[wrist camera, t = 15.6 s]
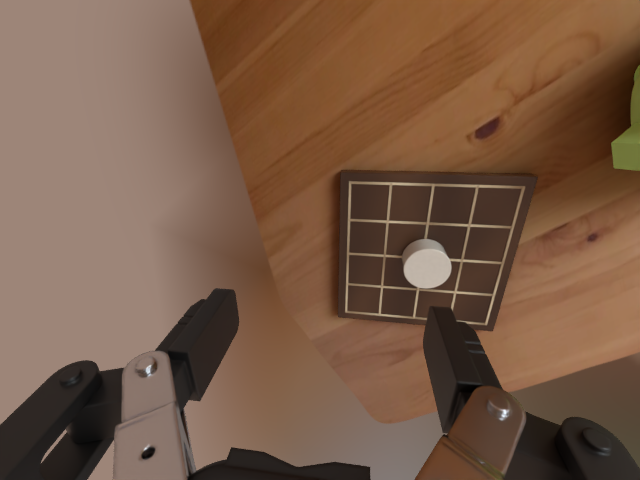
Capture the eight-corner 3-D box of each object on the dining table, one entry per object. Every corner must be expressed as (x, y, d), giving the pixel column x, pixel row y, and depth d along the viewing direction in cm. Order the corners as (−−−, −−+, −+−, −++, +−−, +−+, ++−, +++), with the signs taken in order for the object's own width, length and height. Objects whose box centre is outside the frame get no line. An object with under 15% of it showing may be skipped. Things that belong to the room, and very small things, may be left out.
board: (338, 311, 39) (337, 317, 38) (341, 169, 31) (340, 172, 30) (489, 324, 36) (493, 332, 35) (532, 173, 29) (538, 177, 28)
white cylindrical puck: (399, 275, 34) (401, 287, 32) (403, 237, 32) (406, 247, 30) (442, 278, 33) (447, 290, 31) (449, 240, 31) (455, 250, 29)
